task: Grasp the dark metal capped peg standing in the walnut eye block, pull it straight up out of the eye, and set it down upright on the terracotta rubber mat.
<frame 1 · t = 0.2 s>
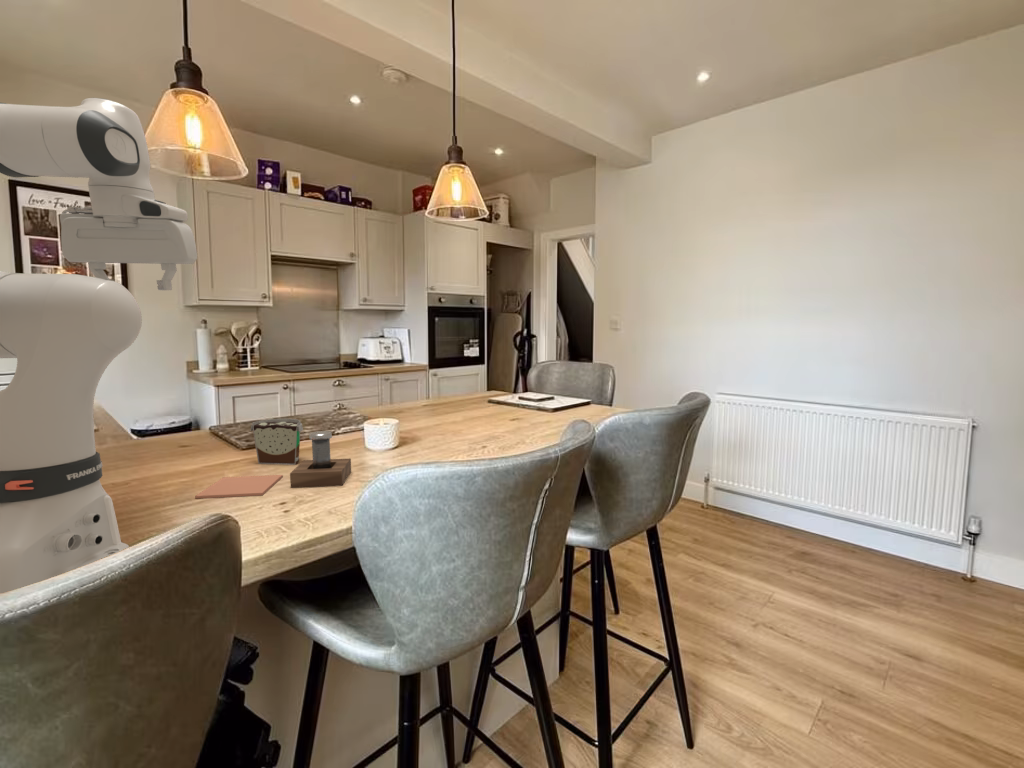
hand: (136, 290, 86), 39 cm above the countertop, tool pointing down, fingers open, 8 cm apart
food container: (284, 461, 119), on the countertop
rubber mat: (242, 487, 99), on the countertop
metal peg: (321, 456, 103), in the eye block
eye block: (322, 479, 104), on the countertop
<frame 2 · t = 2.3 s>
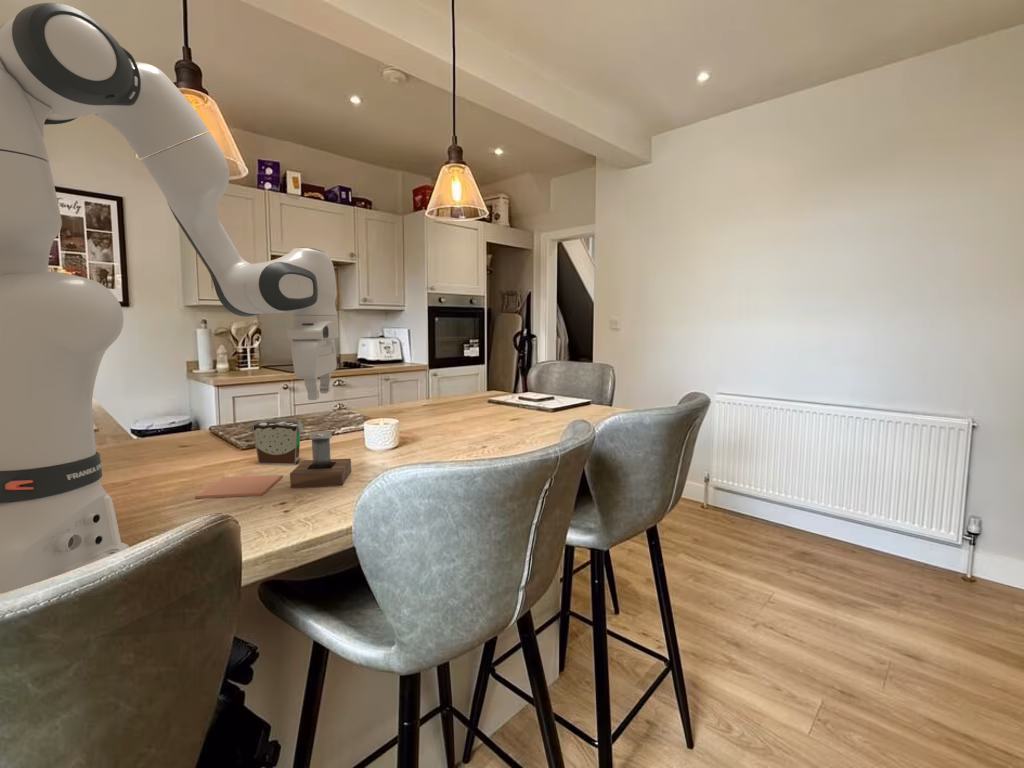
hand: (319, 396, 102), 18 cm above the countertop, tool pointing down, fingers open, 8 cm apart
nothing on the countertop moved.
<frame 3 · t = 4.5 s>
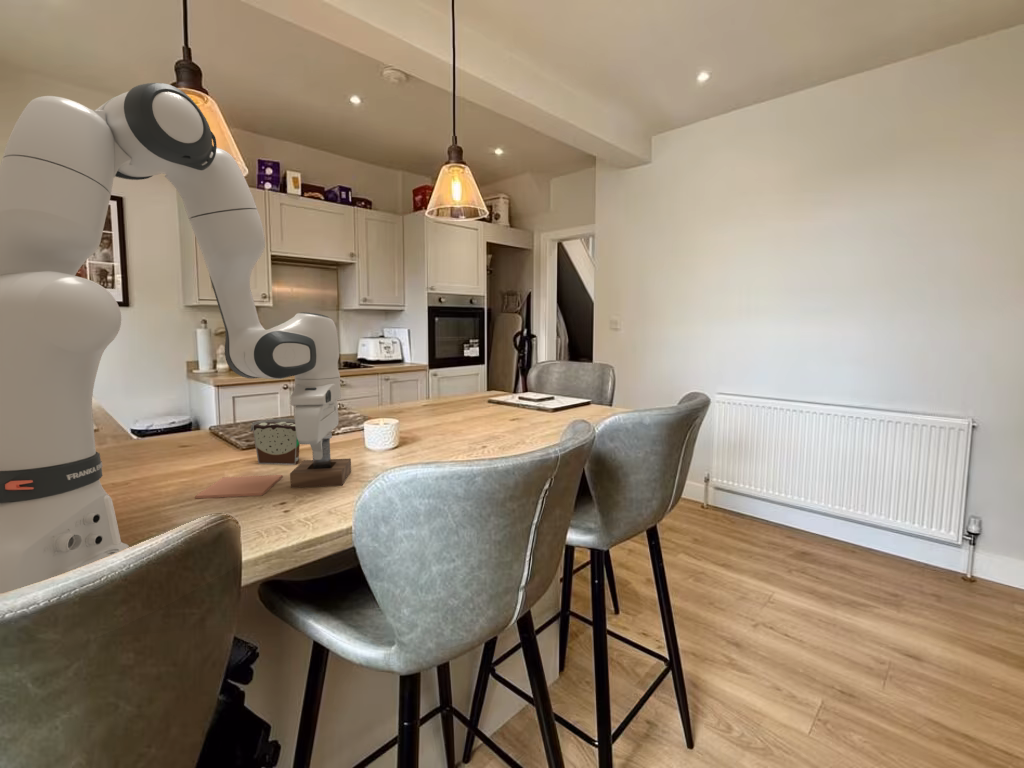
hand: (321, 455, 103), 5 cm above the countertop, tool pointing down, fingers closed on metal peg, 3 cm apart
metal peg: (321, 456, 103), in the eye block, touching gripper
everything else where it was.
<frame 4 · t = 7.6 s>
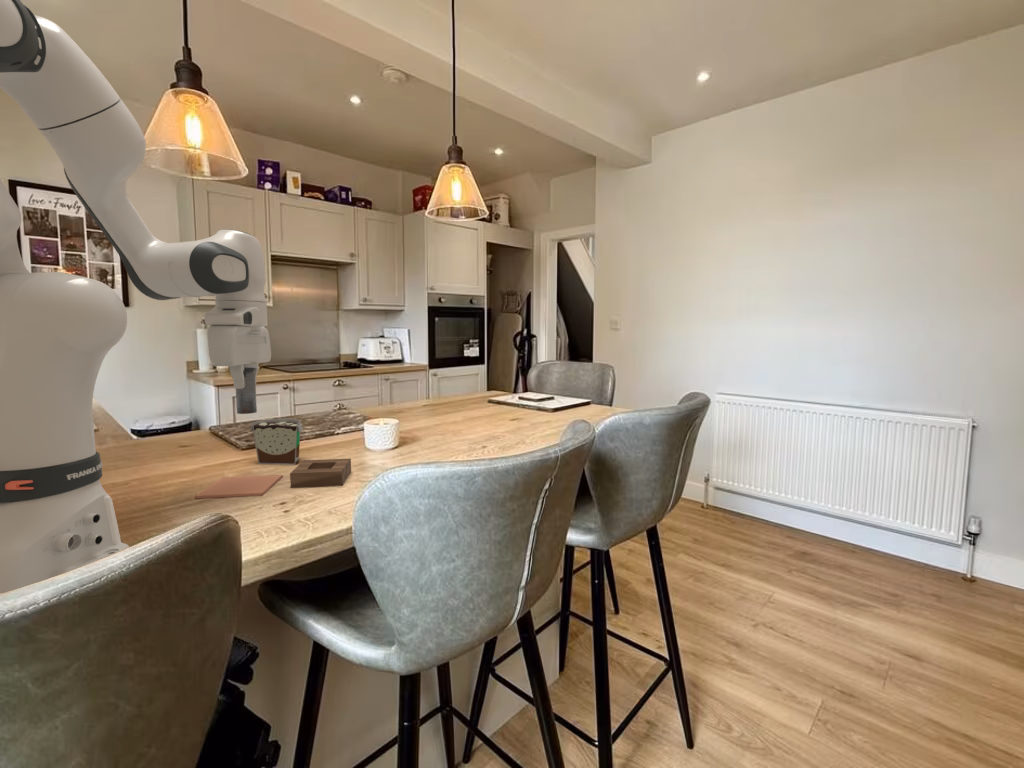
hand: (245, 387, 97), 20 cm above the countertop, tool pointing down, fingers closed on metal peg, 3 cm apart
metal peg: (245, 387, 97), point 20 cm above the countertop, touching gripper
everything else where it was.
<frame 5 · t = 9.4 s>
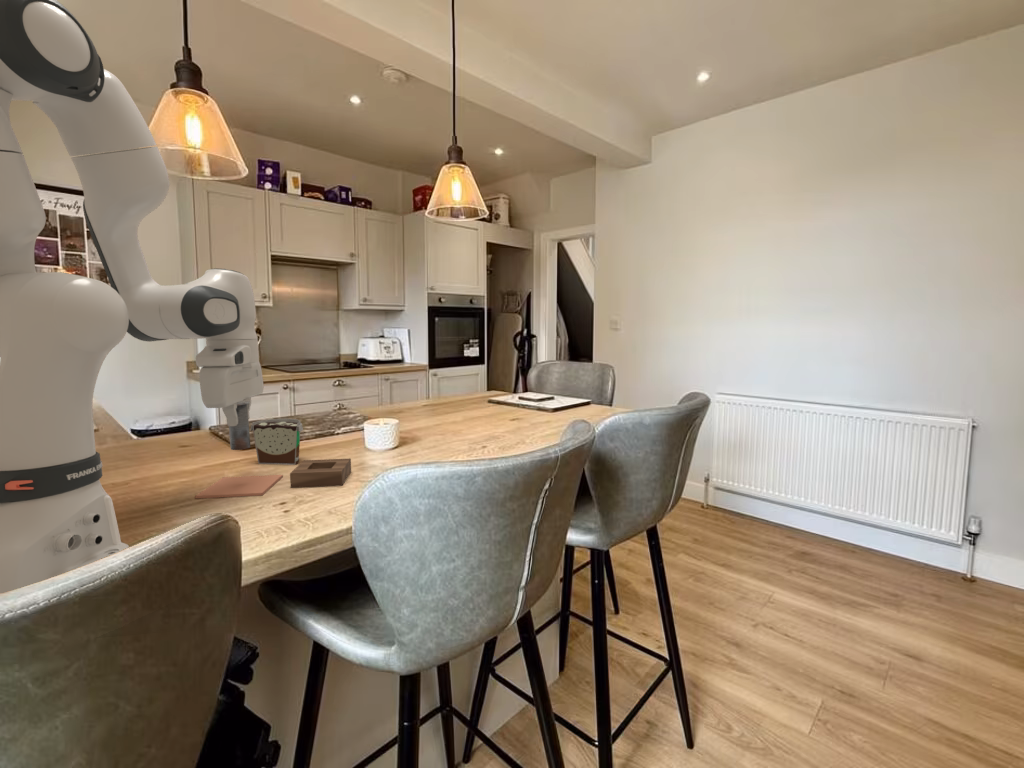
hand: (238, 423, 97), 13 cm above the countertop, tool pointing down, fingers closed on metal peg, 3 cm apart
metal peg: (238, 423, 98), point 13 cm above the countertop, touching gripper
everything else where it was.
when the fingers open (7 cm above the countertop, at t = 10.8 s): metal peg drops 1 cm, resting on rubber mat.
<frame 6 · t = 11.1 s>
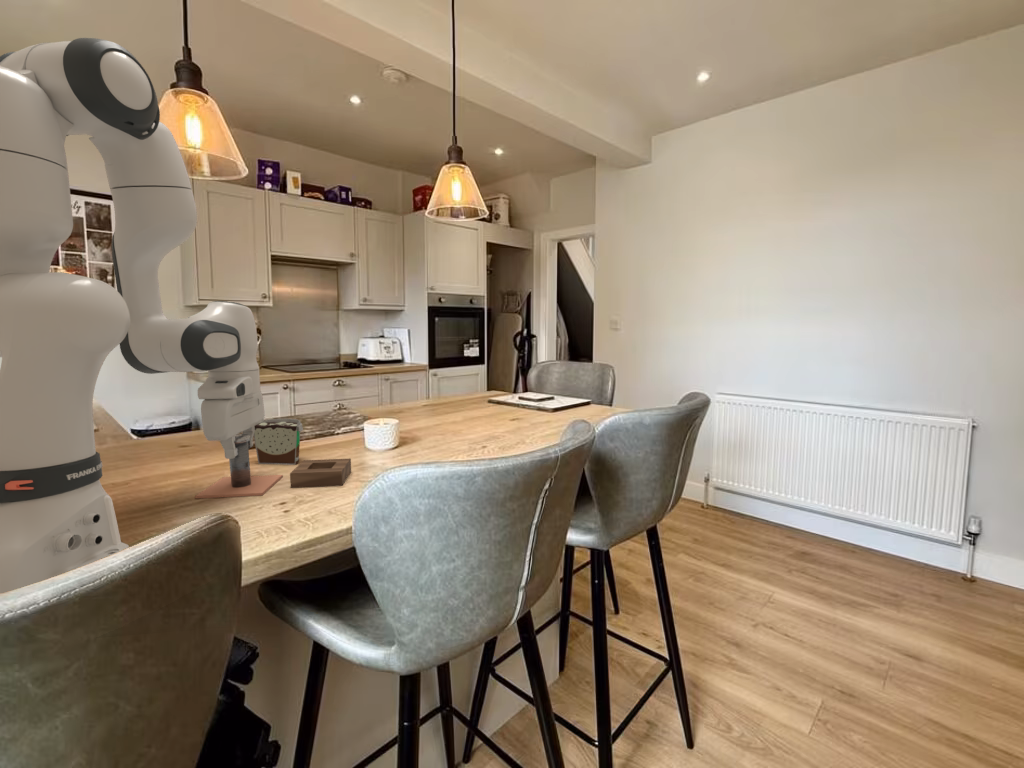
hand: (239, 452, 98), 7 cm above the countertop, tool pointing down, fingers open, 6 cm apart
metal peg: (239, 460, 98), on the rubber mat
everything else where it was.
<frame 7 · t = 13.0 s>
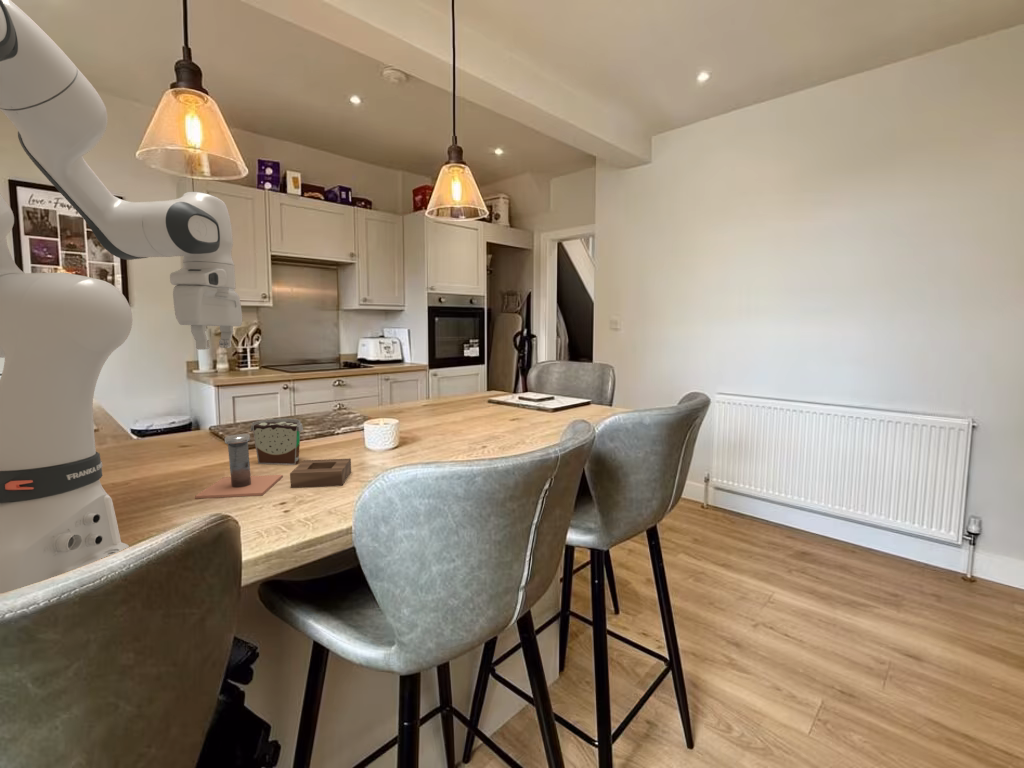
hand: (214, 348, 99), 28 cm above the countertop, tool pointing down, fingers open, 8 cm apart
nothing on the countertop moved.
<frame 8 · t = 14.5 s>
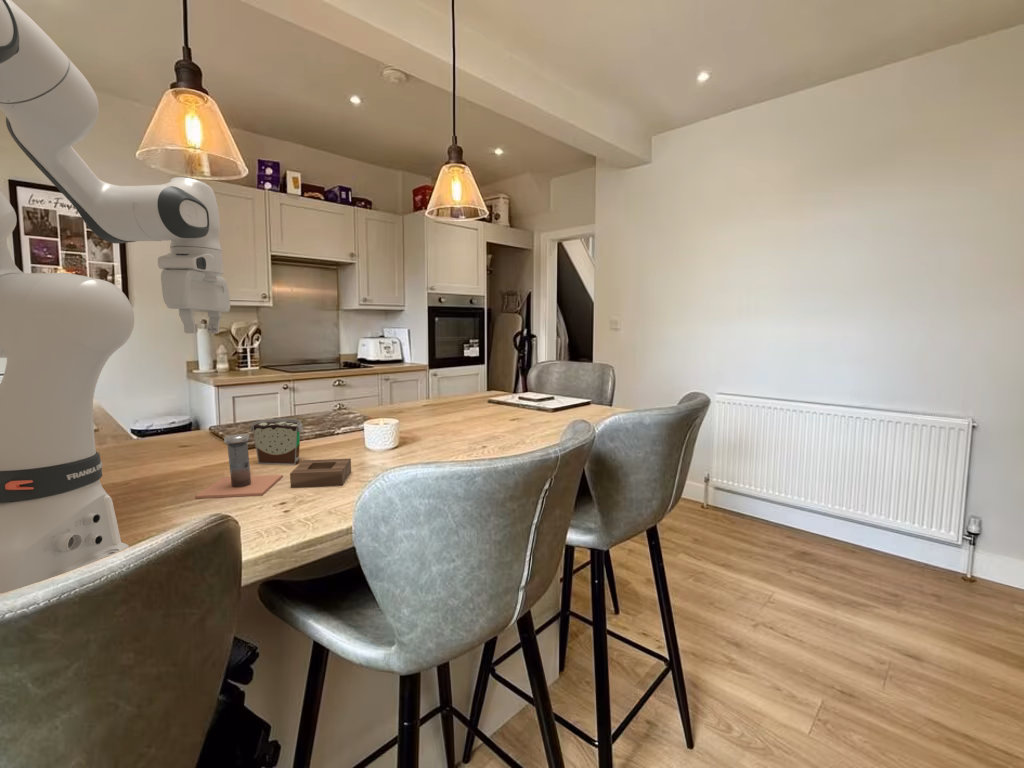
hand: (202, 333, 100), 31 cm above the countertop, tool pointing down, fingers open, 8 cm apart
nothing on the countertop moved.
at the end: metal peg inside the target area on the rubber mat (0.1 cm from its centre), point 5.6 cm above the rubber mat's base; metal peg tilted 2°; metal peg moved 15.4 cm from its start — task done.
